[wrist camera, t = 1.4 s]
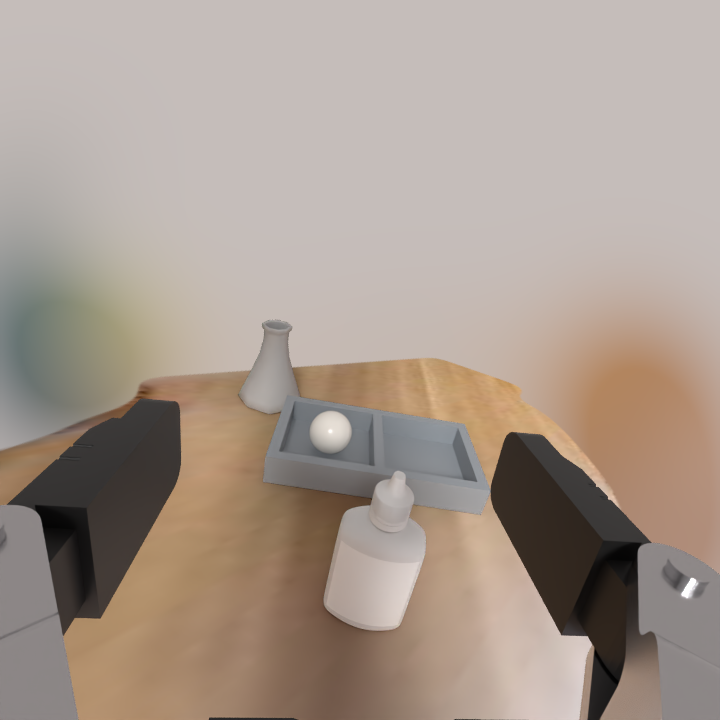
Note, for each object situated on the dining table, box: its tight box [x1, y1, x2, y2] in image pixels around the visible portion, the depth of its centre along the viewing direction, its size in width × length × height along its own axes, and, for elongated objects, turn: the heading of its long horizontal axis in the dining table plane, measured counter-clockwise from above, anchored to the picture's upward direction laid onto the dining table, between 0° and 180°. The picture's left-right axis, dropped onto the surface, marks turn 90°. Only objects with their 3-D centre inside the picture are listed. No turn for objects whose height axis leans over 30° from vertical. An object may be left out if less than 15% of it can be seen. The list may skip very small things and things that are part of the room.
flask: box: [238, 320, 300, 414], centre depth 48 cm, size 7×7×10 cm
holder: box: [263, 395, 491, 515], centre depth 42 cm, size 21×11×3 cm, turn 88°
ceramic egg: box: [309, 411, 352, 454], centre depth 42 cm, size 4×4×4 cm
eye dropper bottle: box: [323, 471, 426, 631], centre depth 26 cm, size 4×6×12 cm
